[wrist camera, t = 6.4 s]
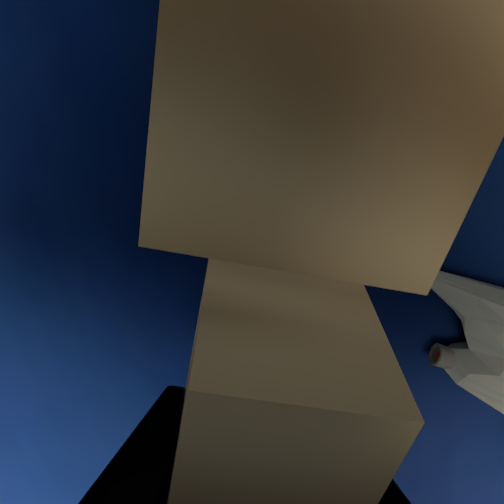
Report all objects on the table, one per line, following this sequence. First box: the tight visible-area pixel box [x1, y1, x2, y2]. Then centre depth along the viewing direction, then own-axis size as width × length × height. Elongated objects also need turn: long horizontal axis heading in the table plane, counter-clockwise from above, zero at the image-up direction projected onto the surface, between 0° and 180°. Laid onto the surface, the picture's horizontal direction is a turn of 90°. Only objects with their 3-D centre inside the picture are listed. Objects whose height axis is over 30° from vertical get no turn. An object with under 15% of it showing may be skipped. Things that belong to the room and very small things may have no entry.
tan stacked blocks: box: [138, 0, 504, 504], centre depth 7 cm, size 14×6×4 cm, turn 168°
